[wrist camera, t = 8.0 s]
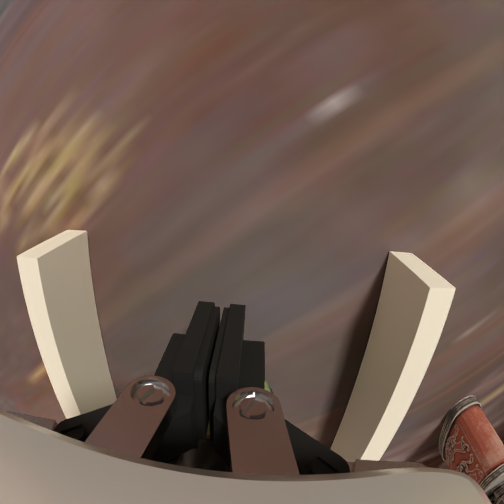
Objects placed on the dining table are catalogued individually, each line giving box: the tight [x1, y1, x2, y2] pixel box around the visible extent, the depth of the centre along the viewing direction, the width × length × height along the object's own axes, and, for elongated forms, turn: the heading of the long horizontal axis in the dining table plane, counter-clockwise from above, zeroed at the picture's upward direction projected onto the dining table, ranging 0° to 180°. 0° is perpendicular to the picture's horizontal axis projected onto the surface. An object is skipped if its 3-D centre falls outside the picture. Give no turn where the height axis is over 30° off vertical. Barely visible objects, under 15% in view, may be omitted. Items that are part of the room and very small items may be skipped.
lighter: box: [439, 395, 504, 504], centre depth 13 cm, size 8×3×10 cm, turn 18°
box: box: [17, 230, 456, 462], centre depth 12 cm, size 16×20×8 cm
